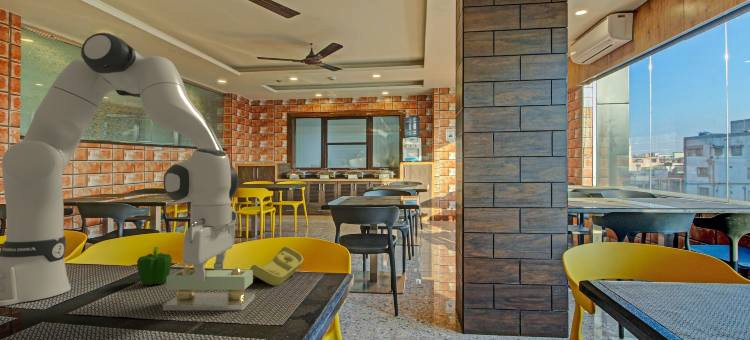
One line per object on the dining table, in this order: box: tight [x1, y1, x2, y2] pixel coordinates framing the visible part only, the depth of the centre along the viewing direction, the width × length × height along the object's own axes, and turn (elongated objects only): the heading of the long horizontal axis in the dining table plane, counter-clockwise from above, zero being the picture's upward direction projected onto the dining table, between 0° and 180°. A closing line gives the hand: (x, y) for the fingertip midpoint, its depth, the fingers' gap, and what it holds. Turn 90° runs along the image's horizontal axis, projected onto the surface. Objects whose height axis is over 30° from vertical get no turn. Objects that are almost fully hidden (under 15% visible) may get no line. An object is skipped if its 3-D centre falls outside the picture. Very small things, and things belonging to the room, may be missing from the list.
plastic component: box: [248, 245, 304, 287], centre depth 116 cm, size 20×7×10 cm
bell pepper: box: [136, 246, 173, 286], centre depth 109 cm, size 8×8×10 cm
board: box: [165, 269, 254, 291], centre depth 92 cm, size 18×6×3 cm, turn 90°
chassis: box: [162, 267, 256, 311], centre depth 92 cm, size 18×9×8 cm, turn 90°
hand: (210, 275), depth 92 cm, fingers open, 8 cm apart
